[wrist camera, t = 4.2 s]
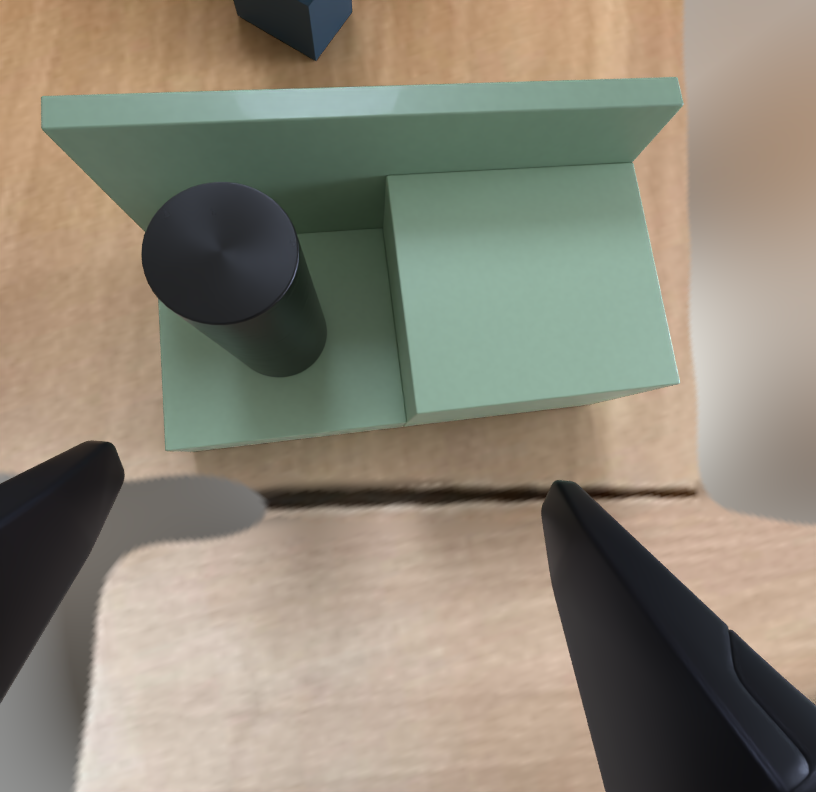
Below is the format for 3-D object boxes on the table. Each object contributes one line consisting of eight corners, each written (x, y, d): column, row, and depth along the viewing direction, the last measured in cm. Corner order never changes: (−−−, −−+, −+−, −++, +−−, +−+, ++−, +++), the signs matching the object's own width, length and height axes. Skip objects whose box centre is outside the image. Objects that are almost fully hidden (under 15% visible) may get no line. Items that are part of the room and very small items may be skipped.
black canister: (265, 395, 19) (194, 354, 11) (214, 319, 20) (110, 228, 12) (344, 344, 20) (328, 272, 12) (294, 272, 20) (246, 155, 12)
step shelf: (557, 223, 25) (678, 76, 15) (591, 404, 24) (746, 368, 14) (181, 249, 23) (39, 94, 13) (192, 451, 21) (42, 448, 12)
